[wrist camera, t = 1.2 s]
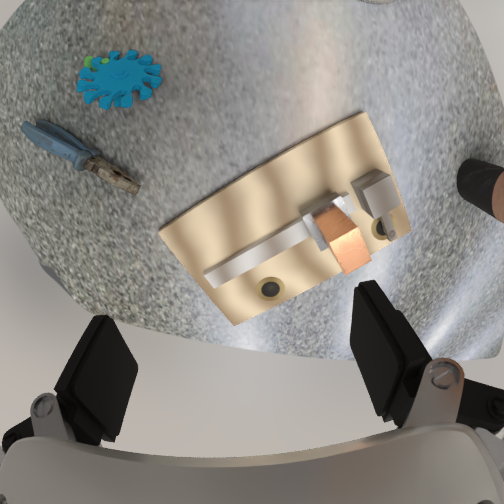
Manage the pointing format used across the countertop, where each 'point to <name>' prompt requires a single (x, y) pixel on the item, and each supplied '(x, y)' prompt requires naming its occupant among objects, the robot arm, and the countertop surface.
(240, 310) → the wooden slide jig
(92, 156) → the pliers
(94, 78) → the gear
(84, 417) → the robot arm
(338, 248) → the block
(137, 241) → the countertop surface
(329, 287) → the countertop surface
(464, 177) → the travel mug
